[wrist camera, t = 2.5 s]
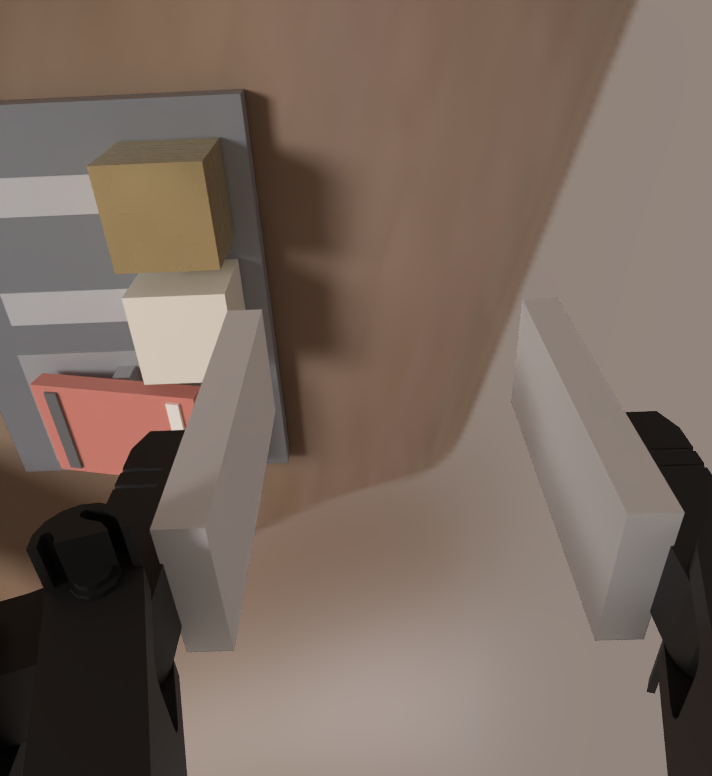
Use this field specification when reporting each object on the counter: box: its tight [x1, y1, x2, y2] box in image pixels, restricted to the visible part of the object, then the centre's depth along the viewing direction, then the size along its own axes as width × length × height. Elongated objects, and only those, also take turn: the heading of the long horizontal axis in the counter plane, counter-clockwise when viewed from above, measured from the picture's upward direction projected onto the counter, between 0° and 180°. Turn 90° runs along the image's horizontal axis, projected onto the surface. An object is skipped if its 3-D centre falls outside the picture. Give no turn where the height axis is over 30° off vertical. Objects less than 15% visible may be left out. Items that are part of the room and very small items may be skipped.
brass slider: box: [86, 137, 235, 274], centre depth 25 cm, size 4×4×4 cm
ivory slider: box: [122, 259, 246, 385], centre depth 28 cm, size 4×4×4 cm
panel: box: [0, 89, 290, 472], centre depth 30 cm, size 18×14×2 cm
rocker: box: [30, 373, 201, 475], centre depth 31 cm, size 5×8×1 cm, turn 93°
